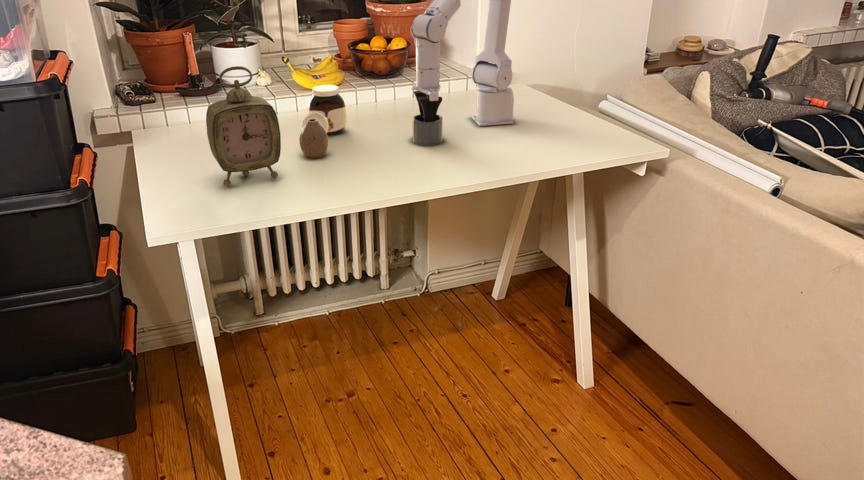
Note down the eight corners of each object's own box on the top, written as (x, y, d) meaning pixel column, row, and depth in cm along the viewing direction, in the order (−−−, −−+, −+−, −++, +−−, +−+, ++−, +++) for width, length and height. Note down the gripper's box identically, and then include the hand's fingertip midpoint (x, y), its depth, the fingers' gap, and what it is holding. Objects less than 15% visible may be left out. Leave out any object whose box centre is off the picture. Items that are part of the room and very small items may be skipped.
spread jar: (345, 125, 191) (342, 83, 185) (350, 138, 181) (348, 94, 175) (301, 129, 189) (297, 86, 183) (304, 142, 179) (300, 97, 174)
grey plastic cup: (438, 135, 182) (438, 112, 179) (445, 144, 175) (445, 121, 172) (410, 137, 181) (410, 114, 178) (416, 146, 174) (416, 123, 171)
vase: (333, 151, 172) (331, 117, 168) (322, 161, 167) (319, 125, 162) (307, 149, 174) (305, 115, 170) (296, 158, 169) (292, 123, 165)
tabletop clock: (220, 191, 152) (203, 74, 140) (212, 177, 159) (195, 66, 147) (285, 179, 157) (273, 66, 145) (274, 167, 164) (262, 58, 152)
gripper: (405, 61, 175) (406, 115, 181) (417, 75, 162) (417, 132, 169) (433, 59, 176) (432, 113, 182) (447, 73, 163) (446, 129, 170)
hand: (427, 122), depth 176 cm, fingers open, 4 cm apart
